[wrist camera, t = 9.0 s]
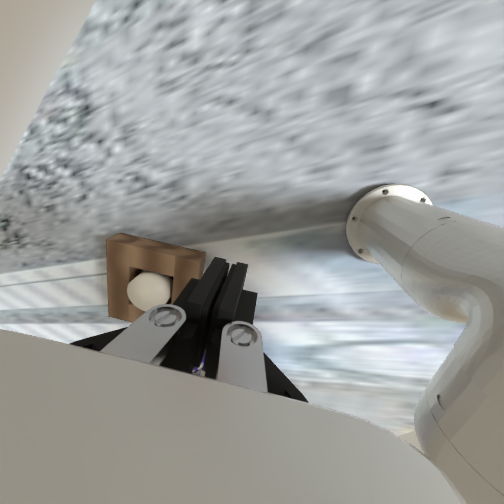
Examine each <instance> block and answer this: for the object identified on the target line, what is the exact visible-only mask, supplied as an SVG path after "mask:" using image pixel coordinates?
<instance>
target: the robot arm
mask: <svg viewBox="0 0 504 504" xmlns="http://www.w3.org/2000/svg"><path fill="white" fill-rule="evenodd" d="M383 190H385V191H384V193H382V191H383ZM420 199H421V200H420ZM353 217H355V218H354V219H352V218H353ZM346 236H347V240H348V242H349V244H350V246H351V248H352V249H353V251H354V252H355V253H356V254H357V255H358V256H360V257H361V258H362V259H364V260H366V261H368V262H371V263H376V264H380V265H381V266H382V267H383V268H384V269H385V270H386V271H387V272H388V273H389V275H390V276H391V277H392V278H393V279H394V280H395V281H396V282H397V283H398V284H399V285H400V286H401V288H402V289H403V290H404V291H405V292H406V293H407V294H408V295H409V296H410V297H411V298H412V299H413V300H414V301H415V302H416V303H417V304H418V305H419V306H420V307H421V308H423V309H424V310H425V311H427V312H428V313H430V314H432V315H434V316H436V317H439V318H441V319H444V320H448V321H452V322H457V323H463V324H466V327H465V329H464V330H463V332H462V334H461V335H460V337H459V338H458V340H457V341H456V343H455V344H454V348H453V349H452V351H451V352H450V353H449V355H448V356H447V358H446V359H445V361H444V362H443V364H442V365H441V366H440V368H439V369H438V371H437V372H436V374H435V375H434V377H433V378H432V379H431V381H430V383H429V384H428V386H427V387H426V389H425V390H424V392H423V393H422V395H421V397H420V399H419V401H418V403H417V406H416V409H415V414H414V427H415V432H416V435H417V439H418V442H419V444H420V447H421V449H422V451H423V452H424V454H423V453H422V452H421V451H419V450H418V449H417V448H415V447H414V446H413V445H411V444H410V443H408V442H406V441H405V440H403V439H401V438H400V437H398V436H396V435H395V434H393V433H391V432H390V431H388V430H386V429H384V428H381V427H379V426H377V425H375V424H373V423H371V422H369V421H366V420H363V419H361V418H358V417H355V416H352V415H350V414H346V413H343V412H339V411H336V410H332V409H329V408H325V407H322V406H319V405H315V404H311V403H308V401H307V400H306V398H305V397H304V396H303V394H302V393H301V392H300V391H299V390H298V389H297V388H296V387H295V386H294V385H293V384H292V383H291V381H290V380H289V379H288V378H287V377H286V376H285V375H284V374H283V373H282V372H281V371H280V370H279V369H278V367H277V366H276V365H275V364H274V363H273V362H272V361H271V360H270V359H269V358H268V357H267V356H266V354H265V353H264V352H263V344H262V336H261V333H260V332H259V330H258V329H257V328H256V327H255V326H253V318H254V312H255V306H256V300H257V293H255V292H251V291H247V290H243V286H244V281H245V277H246V272H247V268H248V264H243V263H239V262H237V264H236V265H235V264H232V266H231V269H230V271H229V273H228V269H229V263H226V259H222V258H218V257H215V258H214V259H213V261H212V262H211V264H210V265H209V267H208V268H207V270H206V272H205V273H204V275H203V276H202V278H201V279H195V278H191V279H190V281H189V282H188V284H187V285H186V286H185V288H184V289H183V290H182V292H181V293H180V295H179V296H178V297H177V299H176V300H175V301H174V303H173V304H172V305H171V304H162V305H157V306H154V307H152V308H150V309H149V310H147V311H146V312H145V313H144V314H143V315H142V316H140V317H139V318H138V319H137V320H136V321H135V322H133V323H132V324H131V325H130V326H129V327H126V328H122V329H119V330H115V331H111V332H108V333H104V334H100V335H97V336H93V337H89V338H86V339H82V340H78V341H76V342H73V343H70V344H66V343H62V342H58V341H53V340H49V339H45V338H41V337H36V336H32V335H27V334H22V333H18V332H13V331H8V330H3V329H0V504H504V228H502V227H499V226H496V225H493V224H490V223H487V222H483V221H479V220H476V219H473V218H470V217H467V216H464V215H461V214H458V213H455V212H451V211H448V210H445V209H442V208H439V207H436V206H433V204H432V202H431V201H430V199H429V197H428V196H427V195H426V194H424V193H423V192H422V191H420V190H419V189H417V188H415V187H412V186H409V185H404V184H389V185H384V186H381V187H378V188H375V189H373V190H372V191H370V192H368V193H367V194H365V195H364V196H363V197H361V198H360V199H359V201H358V202H357V203H356V204H355V205H354V207H353V208H352V210H351V211H350V214H349V216H348V219H347V223H346ZM359 249H361V250H359ZM205 352H206V353H205ZM204 354H205V359H204V365H203V369H204V370H206V371H205V376H204V377H203V376H199V375H195V374H192V373H193V370H194V368H195V367H196V368H199V367H200V365H201V362H202V360H203V357H204Z"/></svg>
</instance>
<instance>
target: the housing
mask: <svg viewBox="0 0 504 504" xmlns="http://www.w3.org/2000/svg"><path fill="white" fill-rule="evenodd" d="M106 254H107V284H108V313H109V317H113V318H117V319H121V320H125V321H129V322H135V321H136V320H137V319H138V318H139V317H140V316H142V315H143V314H144V313H145V312H146V311H143V310H141V309H139V308H137V307H136V306H135V305H134V304H133V303H132V302H131V301H130V299H129V297H128V294H127V287H128V284H129V283H130V282H131V281H132V280H133V279H134V278H135V277H136V276H138V275H139V274H140V273H141V269H143V270H147V271H151V272H155V273H160V274H164V275H168V276H172V277H174V279H173V290H172V300H168V301H167V302H166V304H171V305H172V304H173V303H174V301H175V300H176V299H177V297H178V296H179V295H180V293H181V292H182V290H183V289H184V288H185V286H186V285H187V284H188V282H189V281H190V279H191V278H195V279H201V278H202V276H203V268H204V261H205V254H206V252H201V251H197V250H193V249H188V248H184V247H180V246H176V245H171V244H167V243H163V242H158V241H154V240H150V239H145V238H141V237H137V236H132V235H128V234H124V233H119V234H117V235H115V236H113V237H111V238H109V239H107V240H106Z"/></svg>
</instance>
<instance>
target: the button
mask: <svg viewBox="0 0 504 504" xmlns="http://www.w3.org/2000/svg"><path fill="white" fill-rule="evenodd" d="M172 290H173V281H172V279H171V278H170V276H168V275H164V274H160V273H155V272H151V271H147V270H144V271H142V272H141V273H140V274H139V275H138V276H136V277H135V278H134V279H133V280H132V281H131V282H130V283H129V284H128V287H127V294H128V297H129V299H130V301H131V302H132V303H133V304H134V305H135V306H136V307H137V308H139V309H141V310H143V311H147V310H149V309H150V308H152V307H154V306H157V305H162V304H166V302H167V301H168V300H169V299H170V297H171V296H172Z"/></svg>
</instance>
